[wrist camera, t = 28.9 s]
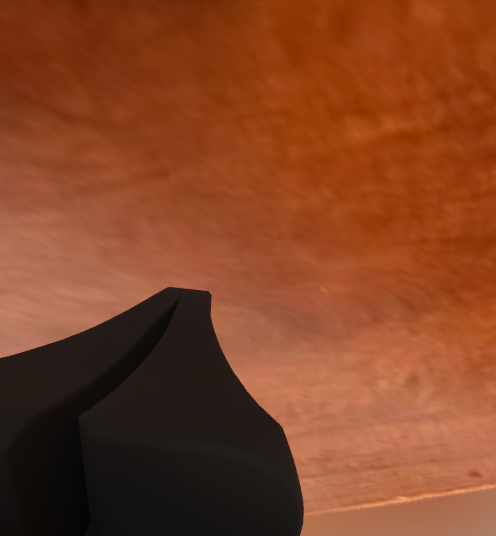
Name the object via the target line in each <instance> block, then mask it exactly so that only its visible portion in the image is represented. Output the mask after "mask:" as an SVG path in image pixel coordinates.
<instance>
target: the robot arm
mask: <svg viewBox="0 0 496 536" xmlns="http://www.w3.org/2000/svg"><path fill="white" fill-rule="evenodd" d="M211 297H212V295H211V294H210V293H209V291H202V290H193V289H183V288H174V287H168V288H166V289H164V290H162V291H160V292H158V293H157V294H155V295H153V296H152V297H150V298H148V299H146V300H145V301H143V302H141V303H139V304H138V305H136V306H134V307H132V308H131V309H129V310H127V311H125V312H123V313H121V314H119V315H117V316H115V317H113V318H111V319H109V320H107V321H105V322H103V323H101V324H99V325H97V326H95V327H93V328H90V329H88V330H86V331H83V332H81V333H78V334H76V335H73V336H71V337H68V338H65V339H63V340H60V341H57V342H54V343H50V344H47V345H44V346H41V347H38V348H35V349H31V350H28V351H25V352H22V353H18V354H15V355H11V356H7V357H3V358H0V536H300V534H301V529H302V525H303V515H304V507H303V498H302V492H301V487H300V483H299V478H298V474H297V470H296V466H295V463H294V460H293V457H292V453H291V450H290V447H289V444H288V442H287V439H286V436H285V433H284V431H283V428H282V427H281V426H280V424H279V423H277V422H276V421H275V420H274V419H273V418H272V417H271V416H270V415H269V414H268V413H267V412H266V411H265V410H264V409H263V408H262V407H260V406H259V405H258V403H257V402H256V401H255V400H254V399H253V398H252V396H251V395H250V394H249V393H248V392H247V390H246V389H245V387H244V386H243V385H242V383H241V382H240V380H239V379H238V378H237V376H236V375H235V373H234V372H233V370H232V368H231V367H230V365H229V363H228V361H227V360H226V358H225V356H224V354H223V352H222V349H221V347H220V345H219V342H218V340H217V337H216V334H215V331H214V328H213V324H212V320H211V315H210V314H211Z"/></svg>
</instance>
